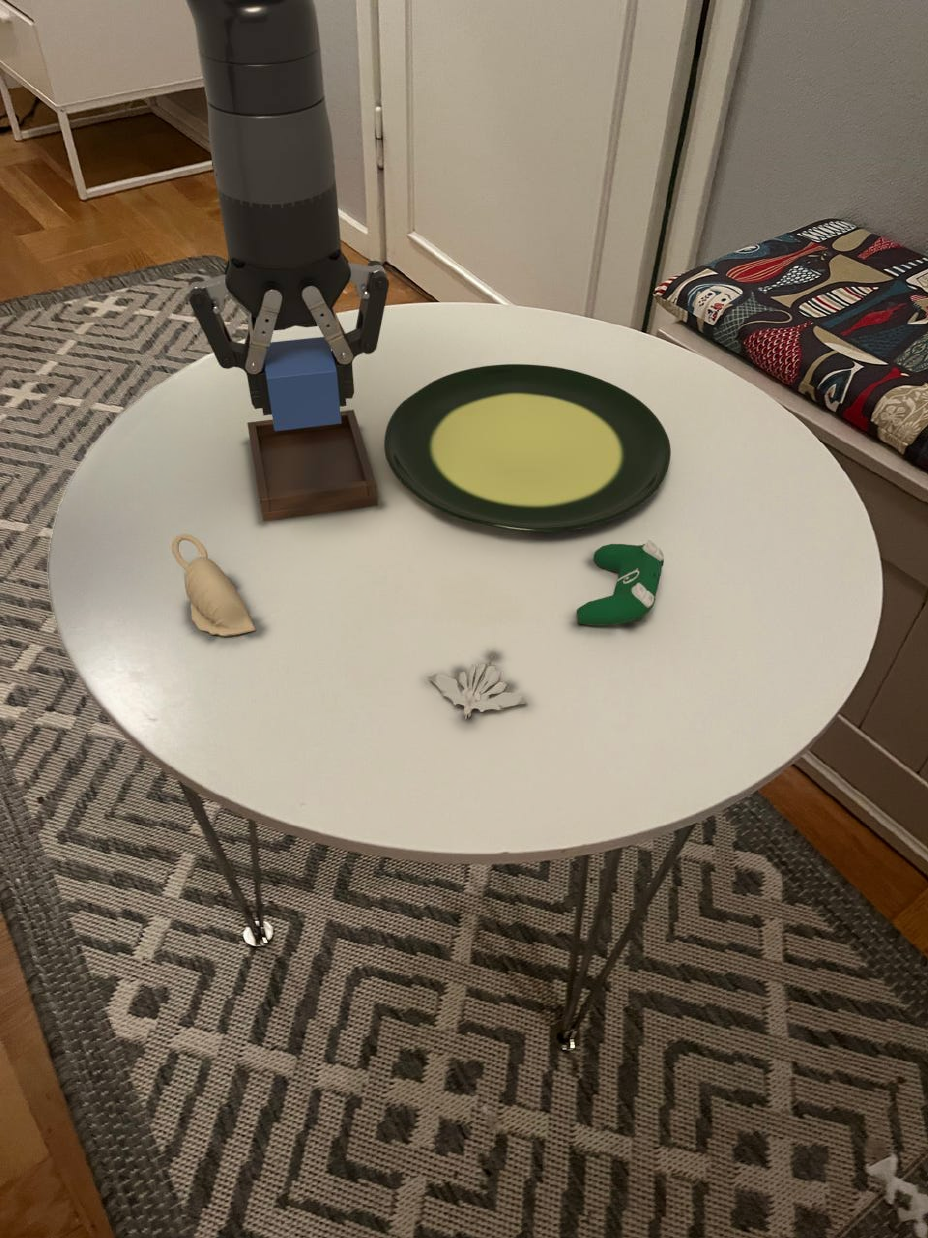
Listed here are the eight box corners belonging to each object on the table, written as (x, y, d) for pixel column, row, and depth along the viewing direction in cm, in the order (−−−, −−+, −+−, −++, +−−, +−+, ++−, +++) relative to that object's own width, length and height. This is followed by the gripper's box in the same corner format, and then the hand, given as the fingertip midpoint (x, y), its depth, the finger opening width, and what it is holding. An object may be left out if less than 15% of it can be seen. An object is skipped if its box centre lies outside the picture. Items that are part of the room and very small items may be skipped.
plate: (453, 583, 82) (453, 562, 80) (345, 415, 99) (343, 394, 98) (724, 504, 90) (729, 483, 88) (580, 361, 108) (582, 341, 106)
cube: (274, 431, 71) (266, 378, 67) (268, 395, 74) (260, 342, 71) (341, 423, 71) (336, 370, 68) (332, 388, 75) (327, 335, 72)
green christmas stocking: (597, 648, 79) (657, 624, 75) (569, 618, 78) (629, 592, 74) (618, 576, 85) (674, 551, 82) (592, 547, 84) (648, 520, 80)
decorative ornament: (208, 649, 76) (195, 601, 72) (176, 585, 81) (163, 537, 77) (256, 632, 77) (247, 584, 73) (222, 570, 82) (212, 522, 78)
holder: (263, 521, 87) (259, 500, 85) (250, 443, 96) (247, 422, 94) (377, 505, 89) (376, 484, 87) (355, 430, 97) (353, 409, 96)
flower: (446, 652, 77) (448, 625, 76) (541, 676, 76) (545, 649, 74) (414, 710, 72) (415, 682, 70) (516, 737, 70) (520, 709, 68)
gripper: (159, 207, 57) (210, 445, 69) (397, 188, 59) (406, 421, 71) (158, 160, 62) (206, 389, 74) (377, 145, 64) (388, 369, 76)
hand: (304, 404), depth 72 cm, fingers closed on cube, 5 cm apart
